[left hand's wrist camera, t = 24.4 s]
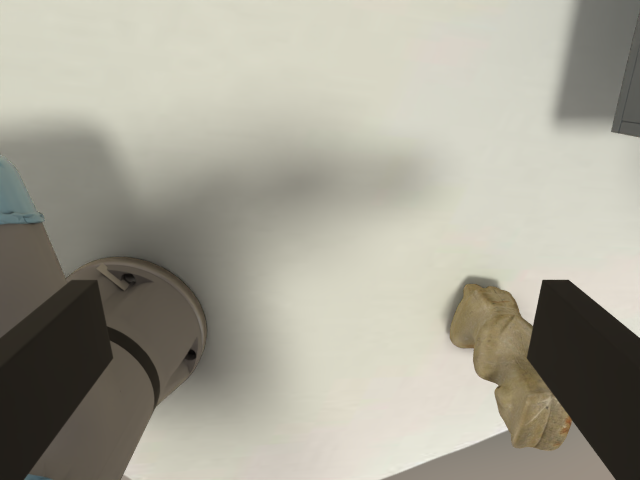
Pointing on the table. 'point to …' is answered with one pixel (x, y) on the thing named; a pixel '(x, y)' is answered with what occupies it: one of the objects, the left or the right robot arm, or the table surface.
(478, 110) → the table surface
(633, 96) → the grey box
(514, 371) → the sculpture
